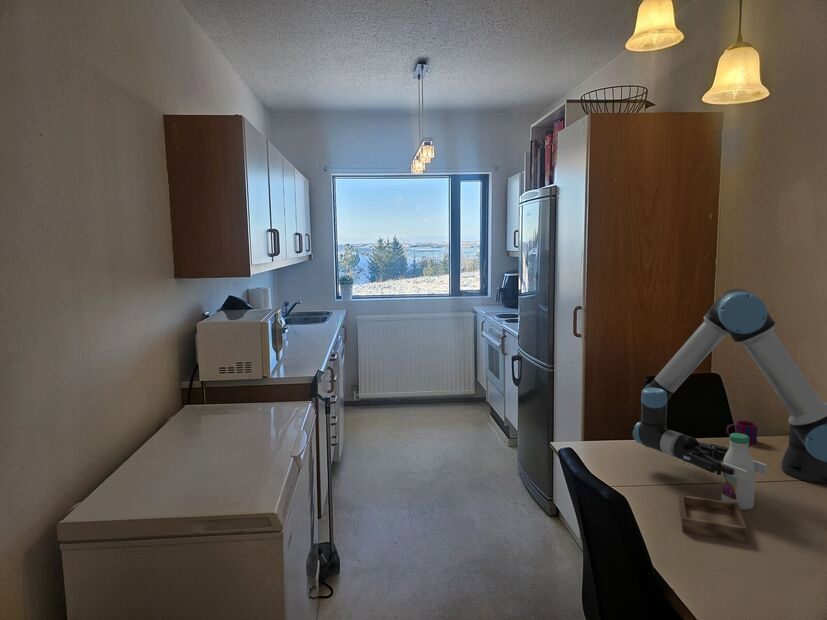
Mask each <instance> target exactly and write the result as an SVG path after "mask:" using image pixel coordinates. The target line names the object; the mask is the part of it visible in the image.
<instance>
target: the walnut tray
mask: <svg viewBox="0 0 827 620" xmlns="http://www.w3.org/2000/svg"><path fill="white" fill-rule="evenodd" d="M678 509H679V510H678V511H679V517H680V525H681V531H682V532H683V533H688V534H694V535H701V536H705V537H711V538H717V539H718V538H719V539H724V540H730V541H734V542H735V541H737V542H741V543H742V542H743V543H747V542H748V540H747V538H748V528H747V525H746V522H745V518H744V517H743V516H744V515H743V514H742V510H740V508H739V505H738V503H735V502H727V501H722V500H721V499H720V500H719V499H713V498H712V499H711V498H704V497H698V496H691V495H685V494H684V495H682V494H679V495H678Z"/></svg>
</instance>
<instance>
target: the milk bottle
mask: <svg viewBox="0 0 827 620" xmlns="http://www.w3.org/2000/svg"><path fill="white" fill-rule="evenodd" d="M729 434H730V436H729V445H730V446H729V447H728V448H729V450H728V451H727V453H726V455H725V457H724V459H723V462H722V464H723V463H727V464H730V465H733V466H735V467H738V468H741V469H744V470H747V471H748V481H744V480H741V479H739V478H736V477H733V476H730V475H728V474H725V473H722V472H721V495H720V496H721V501H727V502H735V503H738V505H739V508H740V511H748V510H749V511H750V510H751V509H753V508H754V506H755V484H756V471H755V466H754V462H753V460H754V459H753V456H752V455H751V453H750V450H749V445H750V444H749V436H747V435H745V434H741V433H736V432H732V433H729Z"/></svg>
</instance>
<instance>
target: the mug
mask: <svg viewBox="0 0 827 620" xmlns="http://www.w3.org/2000/svg"><path fill="white" fill-rule="evenodd" d="M731 427H734V428H735V433H741V434H745V435H747V436H749V445H756V444H758V423H756V422H753V421H749V420H737V421H736V422H735V424H731V423H730V424H728V425H727V427H726V434H727V435H728V436H729V437H730V434H731V433H729V430H730V428H731Z"/></svg>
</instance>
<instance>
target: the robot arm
mask: <svg viewBox="0 0 827 620" xmlns="http://www.w3.org/2000/svg"><path fill="white" fill-rule="evenodd" d="M766 306H767V305H766V304H765V302H764V300H762V298H760V297H759V296H757V295H756V294H754V293H752V292H749V291H747V290H744V289H739V288H735V289H729V290H726V291H724V292H723V293H721V294H720V295H719V296H718V297H717V298H716V299H715V302H714V303H713V304H712V306H711V307H710V309H709V310H707V312H706V313H705V315H704V316H703V322H702V323H701V324H700V325H699V327H697V329H696V330H694V332H693V333H692V335H691V336H690V337H689V338H688V339H687V341H685V342H684V344H682V346H681V347H680V349H678V351H677V352H676V353H675V354H674V355H673V357H672V358H671V359H670V360H669V361H668V362H667V364H665V366H664V367H663V368H662V369H661V370H660V371H659V373H658V374H657V375H656V376H655V377H654V378H653V380H651V382H650V383H648V384H647V385H645V387H644V388H643V389H642V391H641V396H640V403H641V404H640V405H641V409H640V410H641V413H640V414H641V415H640V416H641V419H640V421H639V422H637V423H635V425H634V429H633V430H632V437H633V439H634V441H635V442H636V443H638V444H640V445H642V446H644V447H645V448H649V449H652V450H656V451H658V452H661V453H663V454H665V455H668V456H670V457H674V458H676V459H679V460H681V461H683V462H684V463H685V462H686V463H689V464H692V465H693V466H696V467H698V468H701V469H702V470H705V471H707V472H709V473H711V474H714V473H715V474H716V475H717V476H722V473H725V474H728V475H730V476H733V477H736V478H739V479H741V480H744V481H748V471H747V470H744V469H741V468H738V467H735V466H733V465H730V464H727V463H723V462H718V461H717V460H721V461H723V459H724V457H725V455H726V453H727V451H728V450H729V449H726V448H722V447H719V446H716V445H717V444H714V443H713V444H712V443H710V444H711V447H707V446H705V445H700V444H699V443H698V442H699V441H698V440H697V439H696V438H695V437H693V436H690V435H687V434H683V433H680V432H678V431H674V430H670V429H669V428H667V412H668V400H670V398H671V396H672V395H673V394H674V393H675V392H676V391H677V390H678V388H679V387H681V385H682V384H683V383H684V382H685V381H686V380H687V379H688V377H689V376H691V374H692V373H693V372H694V371H695V370H696V368H697V367H699V365H700V364H701V363H702V362H703V361H704V360H705V359H706V358H707V356H708V355H709V354H710V353H711V352H712V351H713V350H714V349H715V347H716V346H717V345H718V344H719V343H720V342H721V341H722V340H723V339H724V338H725V337H726V336H731V337H730V338H732V340H733V342H735V344H740V345H743V346H744V347H745V350H746V351H747V352H748V354H749V355H750V356H751V358H752V360H753V361H754V363H755V364H756V366H757V367H758V369H759V370H760V372H761V373H762V375H763V376H764V377H765V379H766V380H767V382H768V384H769V385H770V386H771V388H772V390H773V391H774V392H775V394H776V395H777V397H778V398H779V400H780V401H781V404H783V406H784V408H785V409H786V410H787V412H788V413H789V417H788V420H787V421H788V423H789V428H788V429H789V432H788V433H789V434H788V435H789V436H788V438H789V439H788V447H787V448H786V451H785V453H784V455H783V457H782V459H781V463H780V464H781V465H780V469H781V471H782V472H783V473H785V474H786V475H788V476H790V477H793V478H795V479H799V480H802V481H806V482H810V483H817V484H827V402H825V401H822V399H821V398H820V397H819V396H818V394H817V392H816V391H815V389H814V388H813V387H812V385H811V383H810V382H809V381H808V379H807V377H806V376H805V375H804V373H803V372H802V370H801V369H800V367H799V366H798V365H797V363H796V362H795V360H794V358H793V357H792V356H791V354H790V353H789V351H788V350H787V348H786V347H785V345H784V344H783V343H782V341H781V340H780V338H779V337H778V335H777V334H776V333H775V328H776V325H777V323H776V321H774V319H773V317H772V316H771V315H770V313H769V312H768V309H767V307H766ZM712 454H713V457H712ZM753 462H754V466H755V473H760V474H763V475H767V473H768V471H767V468H768V467H767V466H768V465H767V464H768V463H767V464H766V463H763V462H760V461H757V460H755V459H753Z"/></svg>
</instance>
